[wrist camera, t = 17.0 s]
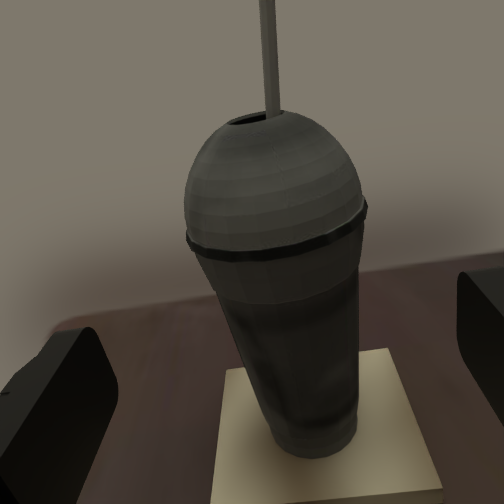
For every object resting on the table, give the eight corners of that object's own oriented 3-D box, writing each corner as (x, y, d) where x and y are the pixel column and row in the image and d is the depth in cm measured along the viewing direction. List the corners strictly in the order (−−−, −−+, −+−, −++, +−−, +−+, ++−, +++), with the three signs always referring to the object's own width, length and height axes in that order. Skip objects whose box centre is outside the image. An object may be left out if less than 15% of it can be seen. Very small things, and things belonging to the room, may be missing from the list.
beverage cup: (254, 373, 26) (159, 3, 17) (378, 367, 25) (340, -44, 16) (232, 485, 20) (66, -11, 11) (397, 487, 18) (352, -90, 10)
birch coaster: (388, 360, 26) (387, 348, 26) (442, 503, 18) (442, 488, 18) (229, 381, 27) (226, 369, 27) (214, 524, 19) (209, 510, 19)
